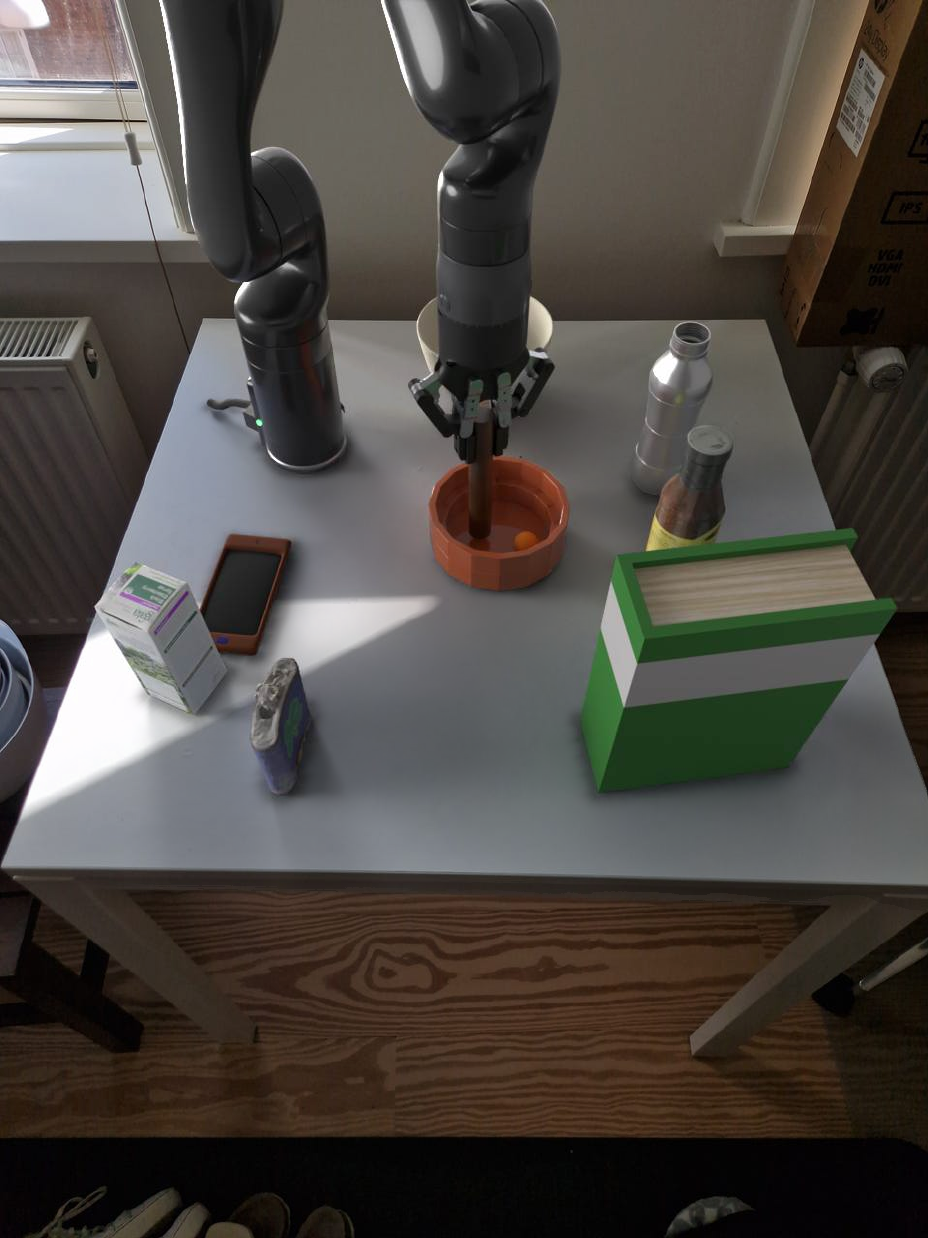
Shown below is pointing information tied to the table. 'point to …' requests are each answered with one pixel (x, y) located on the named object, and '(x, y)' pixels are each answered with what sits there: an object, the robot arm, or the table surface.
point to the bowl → (537, 335)
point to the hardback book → (724, 656)
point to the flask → (280, 725)
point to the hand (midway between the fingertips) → (480, 454)
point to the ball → (525, 541)
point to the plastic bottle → (672, 407)
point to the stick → (481, 474)
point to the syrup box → (162, 636)
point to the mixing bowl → (500, 525)
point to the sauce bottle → (693, 493)
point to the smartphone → (243, 591)
